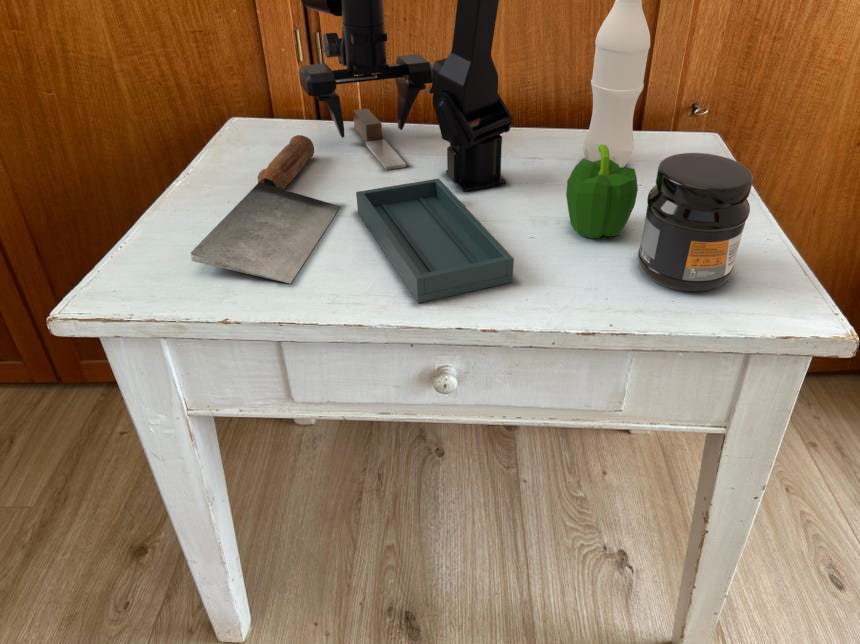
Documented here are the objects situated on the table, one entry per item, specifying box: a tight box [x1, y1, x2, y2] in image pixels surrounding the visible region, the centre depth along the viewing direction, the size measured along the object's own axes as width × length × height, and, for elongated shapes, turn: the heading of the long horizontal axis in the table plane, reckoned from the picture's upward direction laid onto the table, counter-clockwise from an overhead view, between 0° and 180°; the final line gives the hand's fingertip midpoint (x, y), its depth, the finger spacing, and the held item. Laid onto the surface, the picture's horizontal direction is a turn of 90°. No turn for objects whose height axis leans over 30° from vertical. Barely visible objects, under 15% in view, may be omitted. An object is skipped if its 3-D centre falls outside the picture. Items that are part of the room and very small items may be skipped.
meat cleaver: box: [190, 134, 341, 285], centre depth 88 cm, size 34×11×4 cm, turn 173°
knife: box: [352, 108, 407, 171], centre depth 105 cm, size 3×17×3 cm, turn 24°
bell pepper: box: [565, 145, 639, 239], centre depth 84 cm, size 8×8×10 cm
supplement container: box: [637, 152, 754, 292], centre depth 76 cm, size 10×10×12 cm
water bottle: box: [583, 0, 651, 167], centre depth 95 cm, size 7×7×25 cm
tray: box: [355, 177, 515, 304], centre depth 82 cm, size 11×22×3 cm, turn 24°
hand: (371, 132), depth 108 cm, fingers open, 9 cm apart
